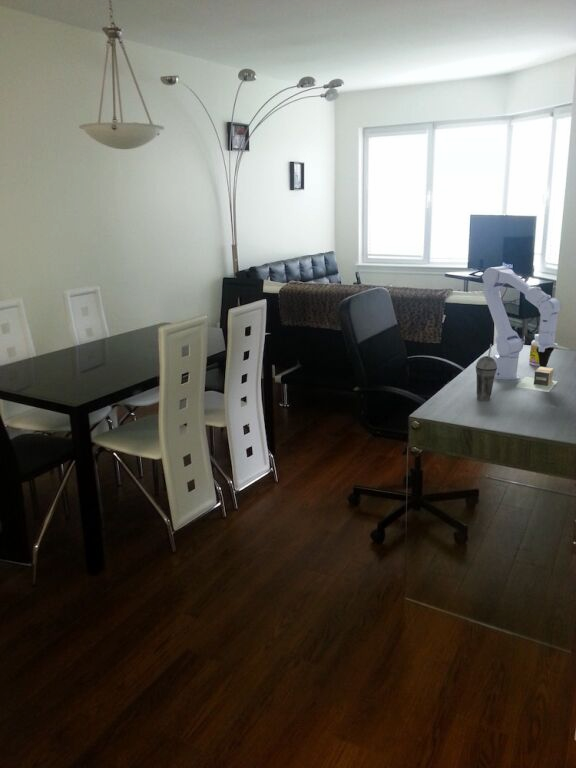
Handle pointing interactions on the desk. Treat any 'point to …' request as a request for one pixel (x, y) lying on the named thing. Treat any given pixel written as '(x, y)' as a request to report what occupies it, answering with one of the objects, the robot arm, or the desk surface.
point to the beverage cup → (485, 376)
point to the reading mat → (535, 385)
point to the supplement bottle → (534, 352)
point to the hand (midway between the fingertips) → (543, 366)
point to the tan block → (543, 376)
